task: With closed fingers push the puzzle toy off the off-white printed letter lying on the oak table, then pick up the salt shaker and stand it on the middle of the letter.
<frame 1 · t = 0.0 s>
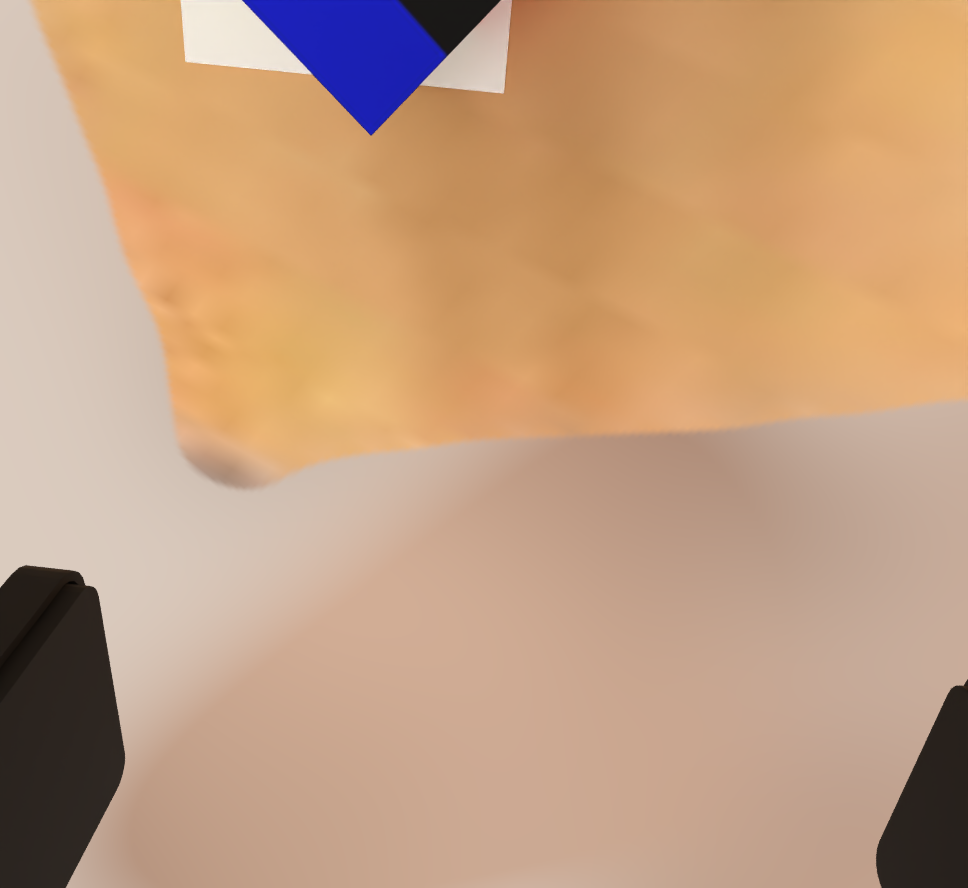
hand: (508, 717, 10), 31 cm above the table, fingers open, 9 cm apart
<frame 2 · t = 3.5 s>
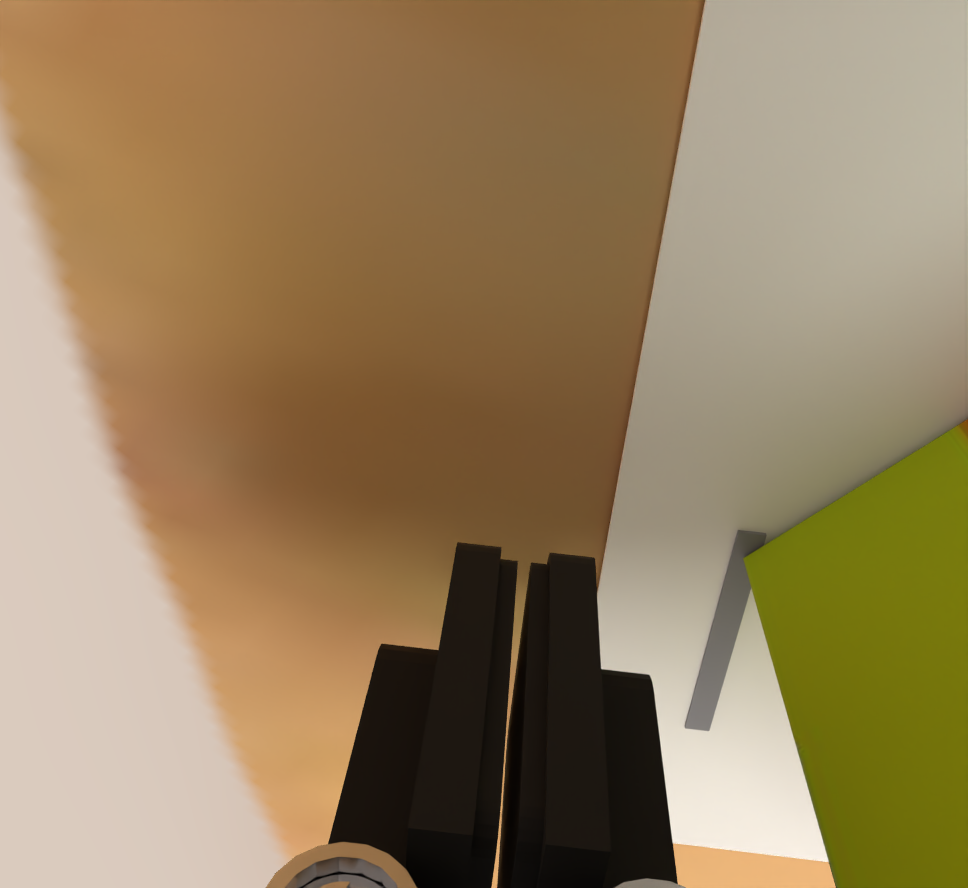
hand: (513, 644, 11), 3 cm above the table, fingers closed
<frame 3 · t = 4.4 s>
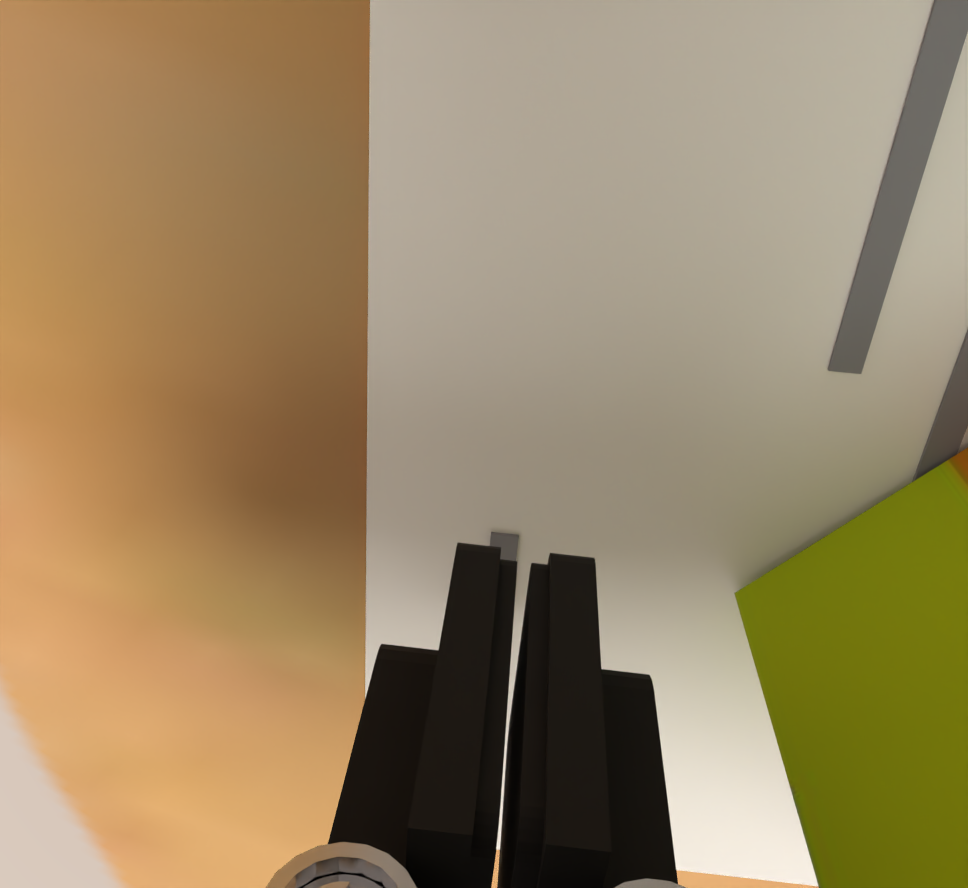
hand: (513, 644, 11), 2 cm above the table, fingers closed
letter: (881, 371, 11), on the table
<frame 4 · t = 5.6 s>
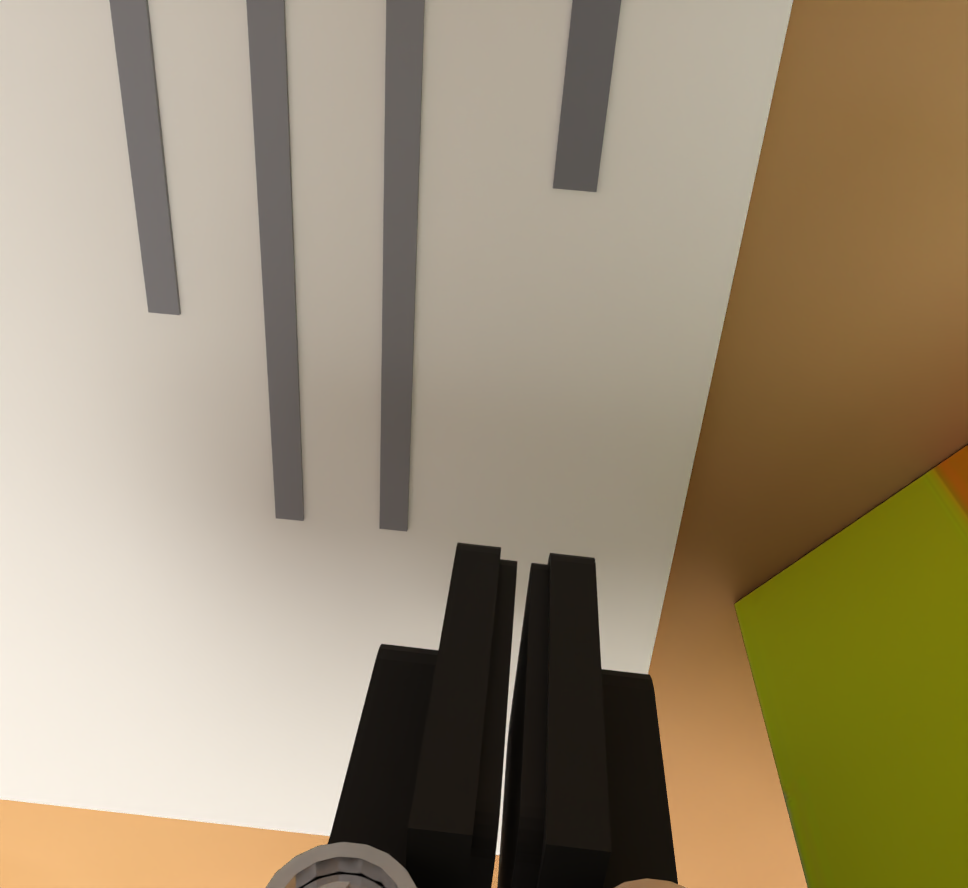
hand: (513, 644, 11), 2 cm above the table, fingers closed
letter: (206, 312, 12), on the table
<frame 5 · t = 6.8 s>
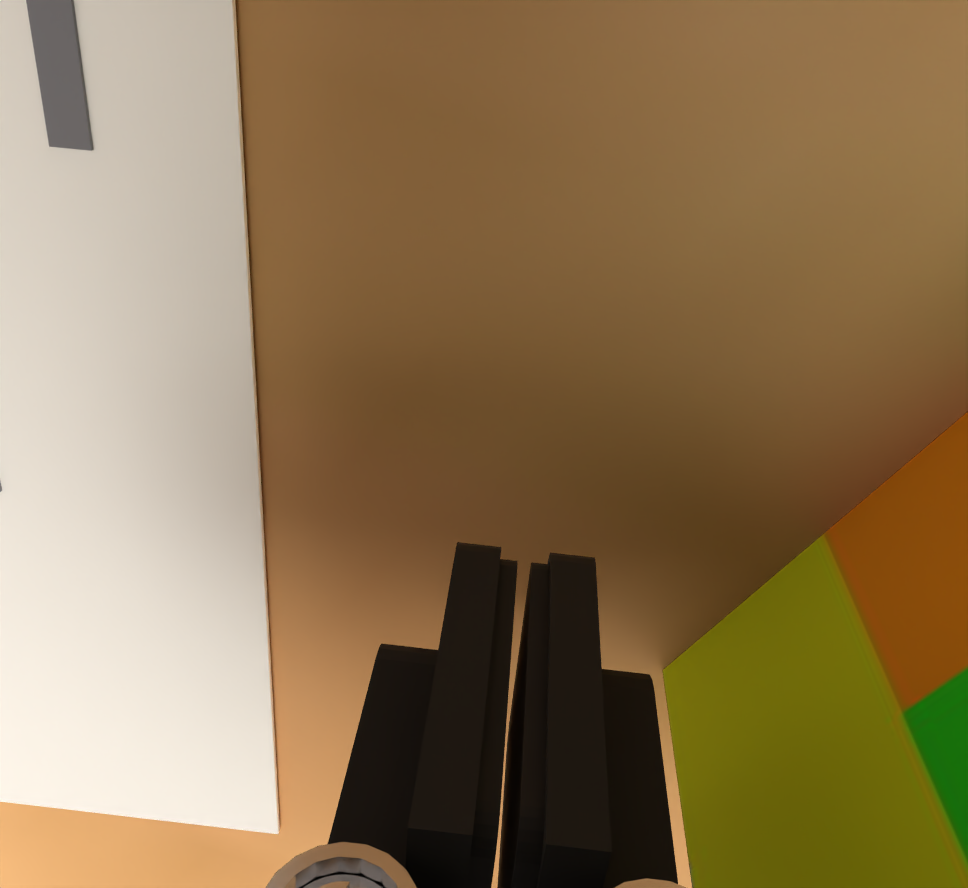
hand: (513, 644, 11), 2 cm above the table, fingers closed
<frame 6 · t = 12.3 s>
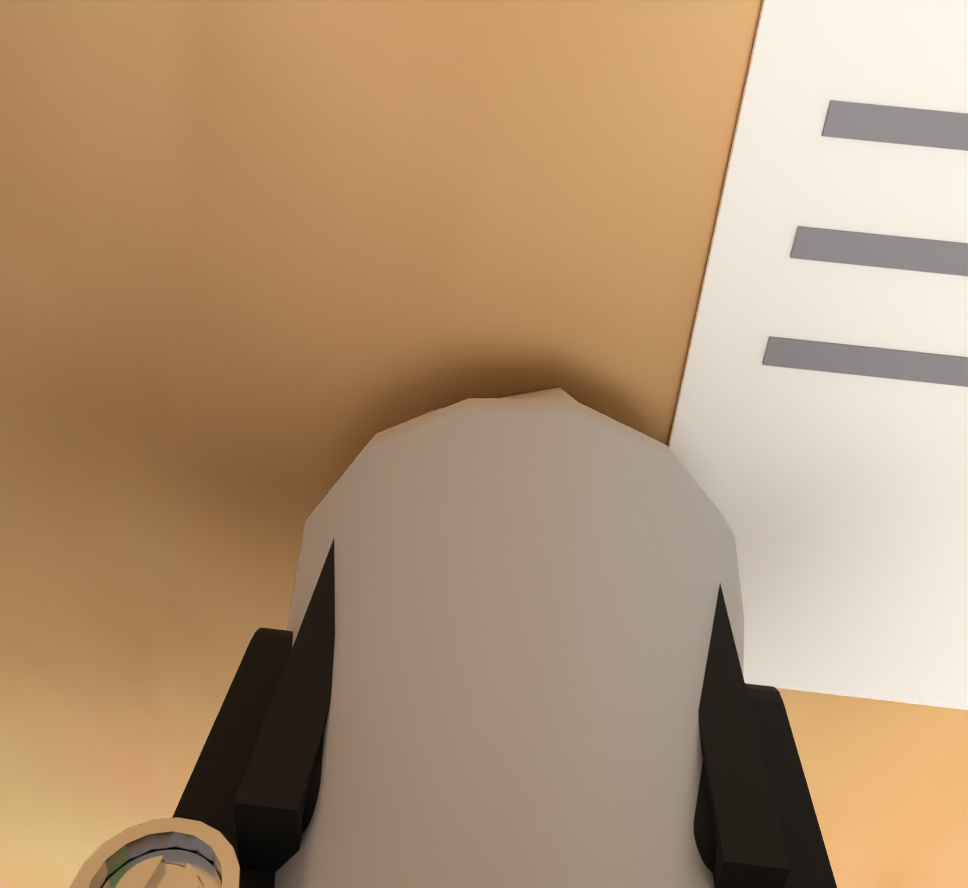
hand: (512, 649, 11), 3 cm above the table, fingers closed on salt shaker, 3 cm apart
salt shaker: (522, 498, 14), on the table, touching gripper
when the fingers open (4 cm above the table, at t = 17.0 s): salt shaker stays where it is, resting on letter.
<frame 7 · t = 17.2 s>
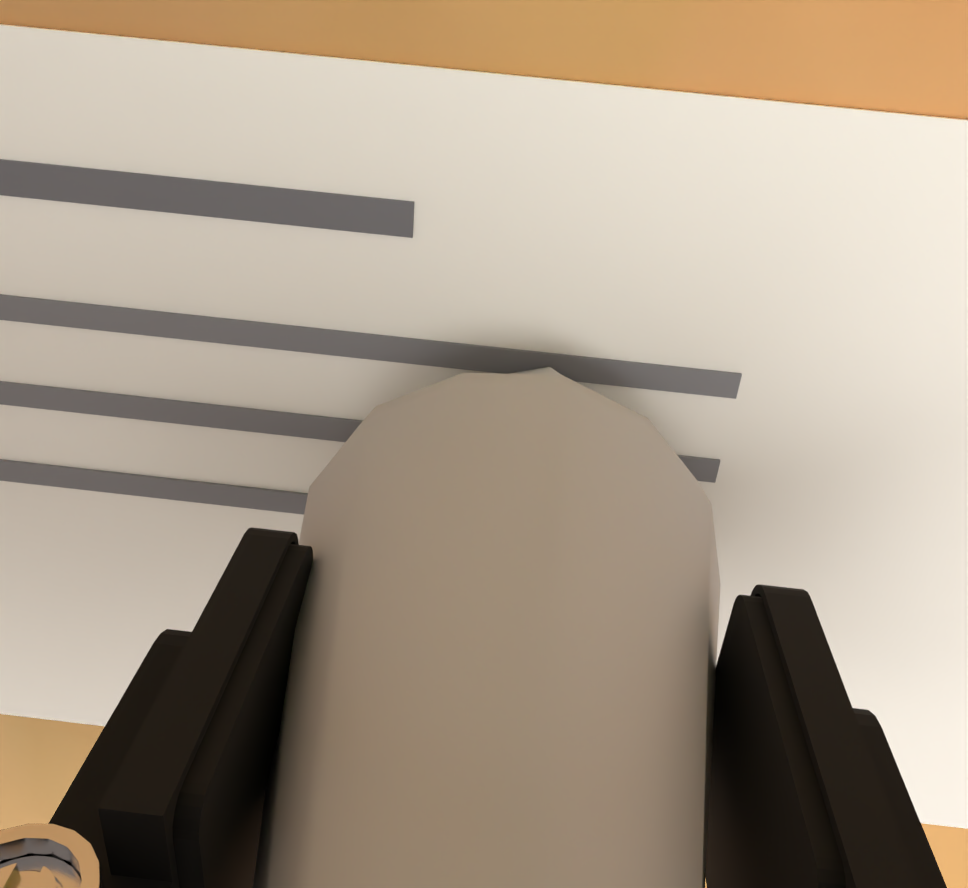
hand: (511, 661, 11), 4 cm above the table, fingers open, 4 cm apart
letter: (522, 498, 15), on the table
salt shaker: (514, 473, 15), resting on letter
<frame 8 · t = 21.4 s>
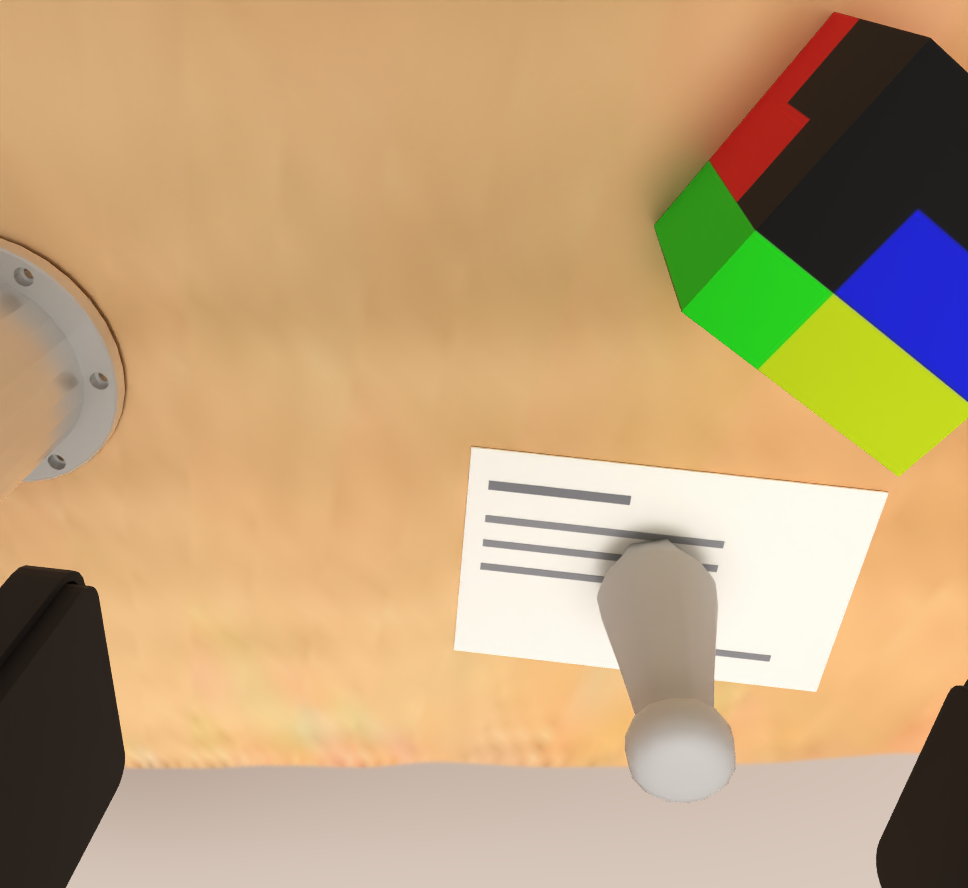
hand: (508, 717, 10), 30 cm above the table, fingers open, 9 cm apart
letter: (654, 576, 46), on the table
salt shaker: (652, 568, 46), resting on letter
puzzle toy: (827, 200, 37), on the table
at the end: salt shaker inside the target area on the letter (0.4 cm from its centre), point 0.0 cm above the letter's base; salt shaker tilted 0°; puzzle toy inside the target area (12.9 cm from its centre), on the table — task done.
